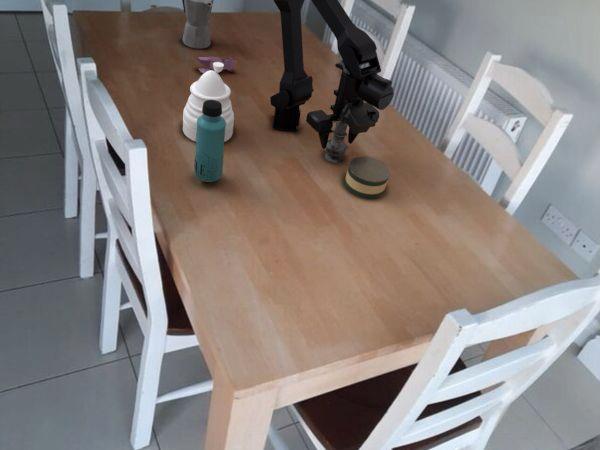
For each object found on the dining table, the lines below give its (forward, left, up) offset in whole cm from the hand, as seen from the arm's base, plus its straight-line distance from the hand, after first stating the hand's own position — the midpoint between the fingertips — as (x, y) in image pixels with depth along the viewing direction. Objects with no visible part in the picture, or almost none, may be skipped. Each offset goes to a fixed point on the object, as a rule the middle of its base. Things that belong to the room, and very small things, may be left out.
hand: (336, 145), depth 143 cm
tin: (+7, -11, -4) cm, 13 cm away
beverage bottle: (-31, -16, -4) cm, 35 cm away
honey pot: (-33, +5, -4) cm, 34 cm away
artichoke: (-44, +40, -2) cm, 59 cm away
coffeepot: (-43, +58, -4) cm, 72 cm away
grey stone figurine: (0, 0, -4) cm, 4 cm away
